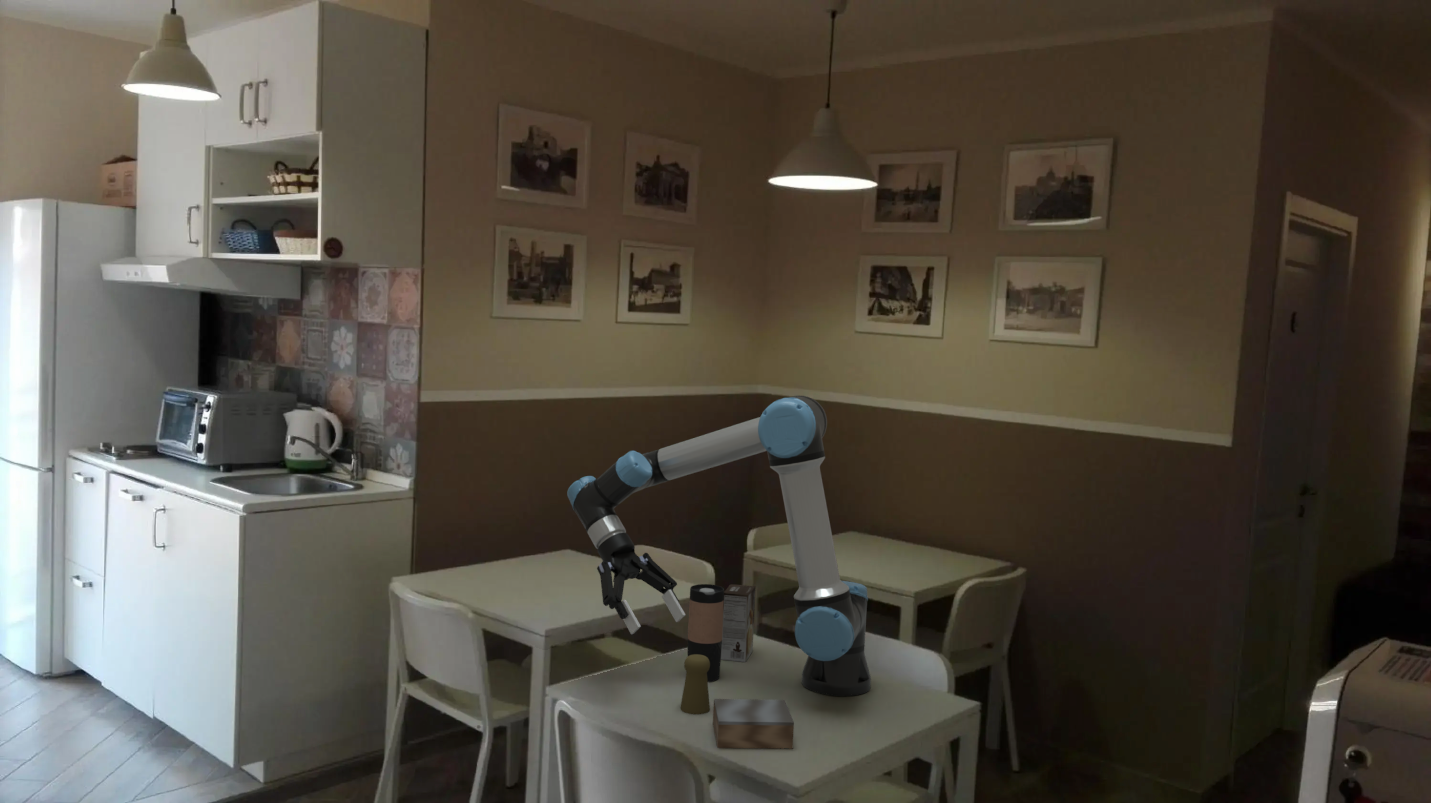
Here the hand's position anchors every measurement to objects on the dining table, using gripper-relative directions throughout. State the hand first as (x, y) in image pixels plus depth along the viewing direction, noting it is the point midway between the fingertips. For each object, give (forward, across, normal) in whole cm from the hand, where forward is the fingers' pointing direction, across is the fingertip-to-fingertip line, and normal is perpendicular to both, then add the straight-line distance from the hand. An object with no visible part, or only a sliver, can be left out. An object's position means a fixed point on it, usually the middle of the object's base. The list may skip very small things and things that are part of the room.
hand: (659, 624), depth 226 cm
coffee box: (+7, -34, -15) cm, 38 cm away
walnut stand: (+30, +3, +9) cm, 32 cm away
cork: (+18, 0, -3) cm, 19 cm away
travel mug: (+10, -16, -12) cm, 22 cm away
